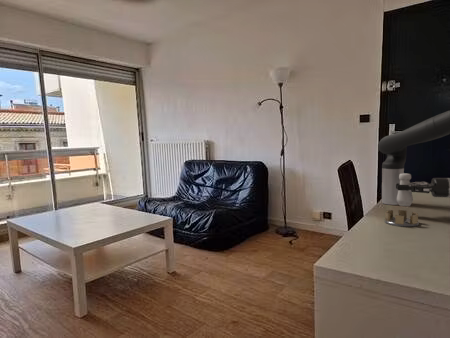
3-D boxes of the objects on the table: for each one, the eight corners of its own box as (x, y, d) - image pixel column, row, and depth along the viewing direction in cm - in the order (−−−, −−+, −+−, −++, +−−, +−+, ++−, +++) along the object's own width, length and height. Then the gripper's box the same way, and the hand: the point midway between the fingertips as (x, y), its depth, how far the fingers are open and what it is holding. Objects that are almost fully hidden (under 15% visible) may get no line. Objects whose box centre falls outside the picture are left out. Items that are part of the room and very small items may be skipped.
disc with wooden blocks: (387, 218, 120) (387, 208, 120) (419, 221, 113) (419, 211, 113) (382, 224, 111) (382, 214, 111) (417, 228, 105) (417, 217, 104)
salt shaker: (414, 204, 122) (415, 173, 121) (411, 207, 118) (412, 174, 117) (398, 203, 126) (398, 172, 125) (394, 205, 122) (395, 174, 121)
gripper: (441, 176, 123) (393, 175, 129) (454, 180, 110) (400, 180, 116) (441, 194, 123) (393, 192, 130) (453, 200, 110) (399, 199, 116)
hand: (397, 186), depth 123 cm, fingers closed on salt shaker, 3 cm apart
